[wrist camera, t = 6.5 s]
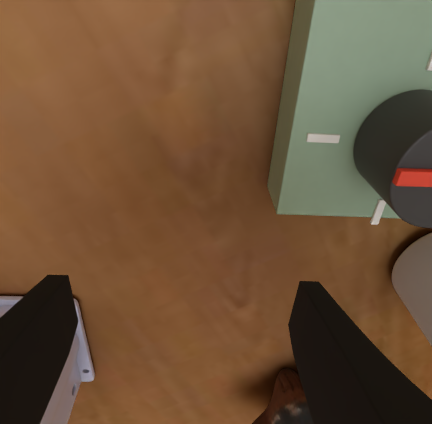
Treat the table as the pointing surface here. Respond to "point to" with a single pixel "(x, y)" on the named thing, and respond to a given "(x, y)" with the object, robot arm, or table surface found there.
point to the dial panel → (342, 98)
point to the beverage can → (416, 282)
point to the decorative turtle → (287, 402)
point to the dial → (400, 155)
